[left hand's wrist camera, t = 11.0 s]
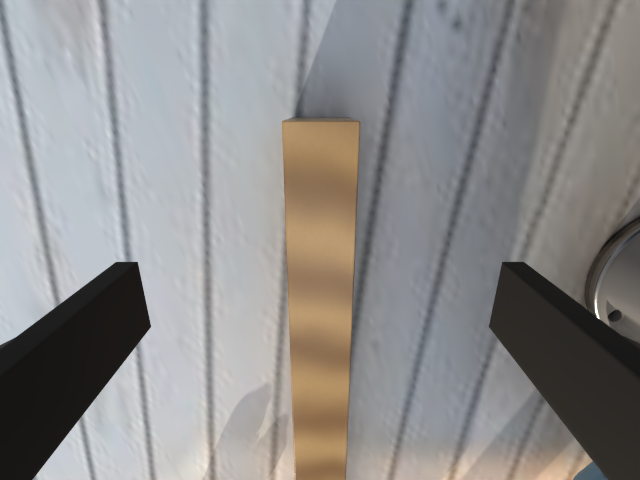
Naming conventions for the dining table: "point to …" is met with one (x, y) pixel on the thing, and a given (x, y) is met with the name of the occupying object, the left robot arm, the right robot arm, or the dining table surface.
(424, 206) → the dining table surface
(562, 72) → the dining table surface
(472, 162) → the dining table surface
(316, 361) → the bar
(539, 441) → the dining table surface
